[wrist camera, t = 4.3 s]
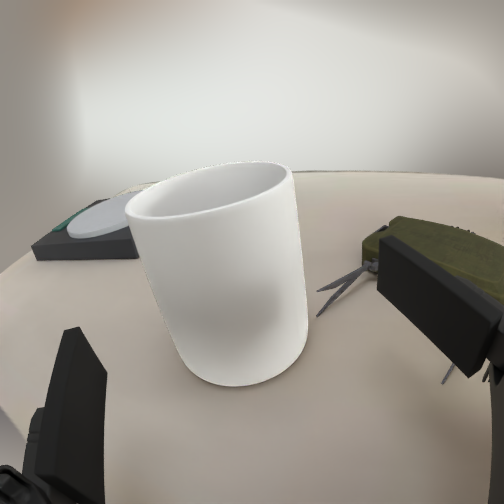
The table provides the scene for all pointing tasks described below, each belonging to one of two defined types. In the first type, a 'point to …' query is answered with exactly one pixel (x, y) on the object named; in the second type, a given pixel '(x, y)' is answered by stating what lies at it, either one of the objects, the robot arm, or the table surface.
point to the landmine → (436, 255)
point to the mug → (226, 268)
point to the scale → (91, 234)
